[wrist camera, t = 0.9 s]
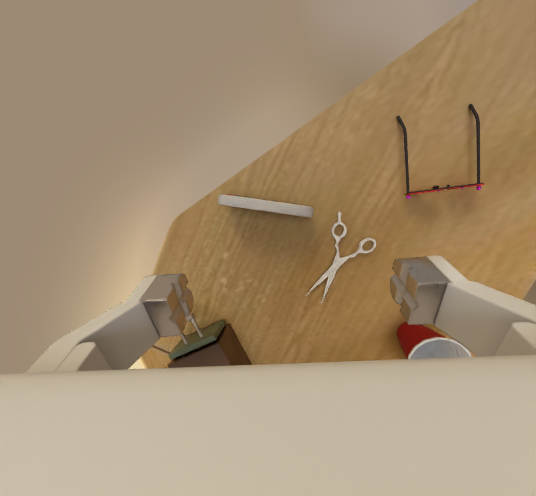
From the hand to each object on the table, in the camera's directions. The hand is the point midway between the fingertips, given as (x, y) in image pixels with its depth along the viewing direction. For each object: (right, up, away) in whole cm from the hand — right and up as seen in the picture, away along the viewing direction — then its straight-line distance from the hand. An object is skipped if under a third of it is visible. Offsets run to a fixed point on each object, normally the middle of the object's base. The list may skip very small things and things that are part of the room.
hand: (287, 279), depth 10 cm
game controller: (-1, +11, +45) cm, 46 cm away
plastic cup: (+31, -18, +46) cm, 59 cm away
